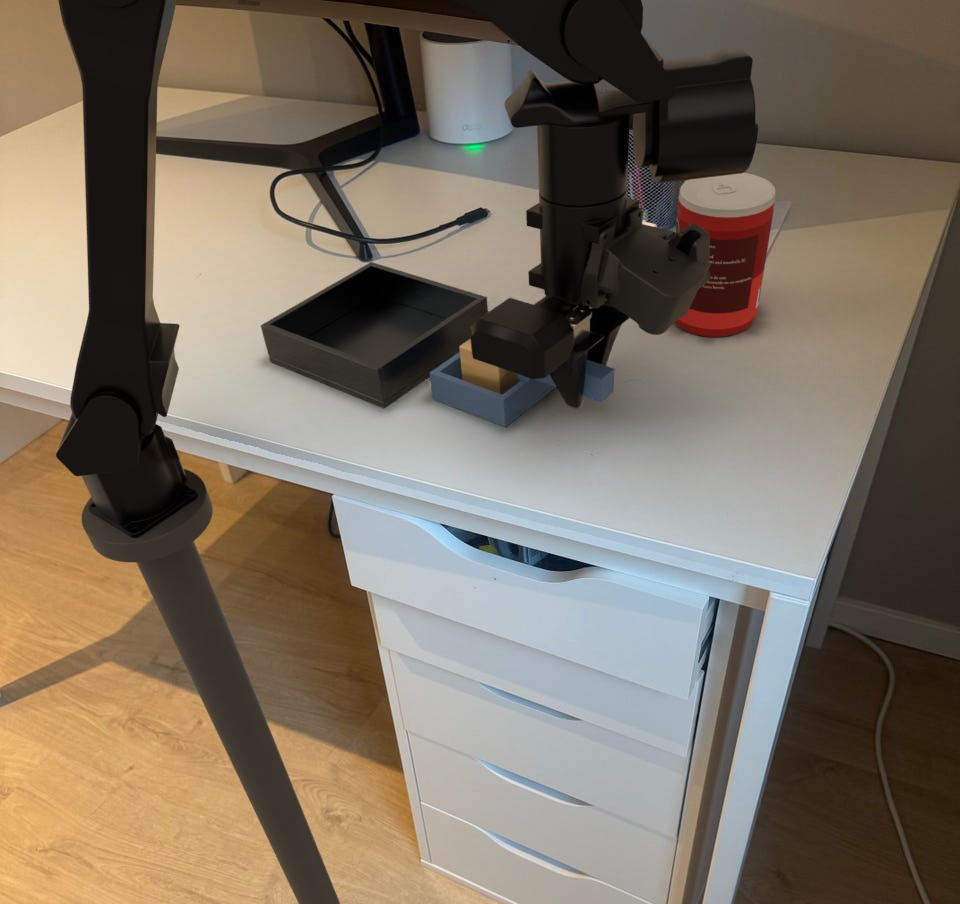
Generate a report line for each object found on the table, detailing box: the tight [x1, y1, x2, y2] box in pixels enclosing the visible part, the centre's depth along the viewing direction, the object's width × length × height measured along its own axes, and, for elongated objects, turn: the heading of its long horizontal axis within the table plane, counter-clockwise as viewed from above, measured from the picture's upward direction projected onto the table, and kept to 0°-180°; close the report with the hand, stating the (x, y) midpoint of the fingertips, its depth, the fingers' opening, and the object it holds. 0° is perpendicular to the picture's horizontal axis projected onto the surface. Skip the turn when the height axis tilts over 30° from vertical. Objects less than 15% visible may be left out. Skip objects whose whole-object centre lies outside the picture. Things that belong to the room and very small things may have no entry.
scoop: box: [429, 352, 615, 428], centre depth 72 cm, size 8×15×5 cm, turn 51°
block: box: [459, 339, 521, 395], centre depth 74 cm, size 4×4×4 cm
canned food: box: [674, 172, 776, 338], centre depth 77 cm, size 8×8×11 cm
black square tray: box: [260, 261, 489, 409], centre depth 80 cm, size 14×14×4 cm
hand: (581, 399), depth 70 cm, fingers closed on scoop, 2 cm apart
